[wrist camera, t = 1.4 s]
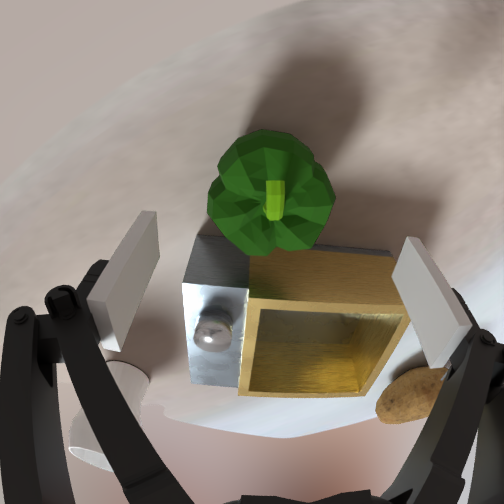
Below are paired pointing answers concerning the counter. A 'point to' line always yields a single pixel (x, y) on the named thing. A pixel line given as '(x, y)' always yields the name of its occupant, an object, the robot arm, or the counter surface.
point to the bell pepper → (270, 194)
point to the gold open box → (290, 319)
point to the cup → (81, 432)
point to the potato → (410, 395)
